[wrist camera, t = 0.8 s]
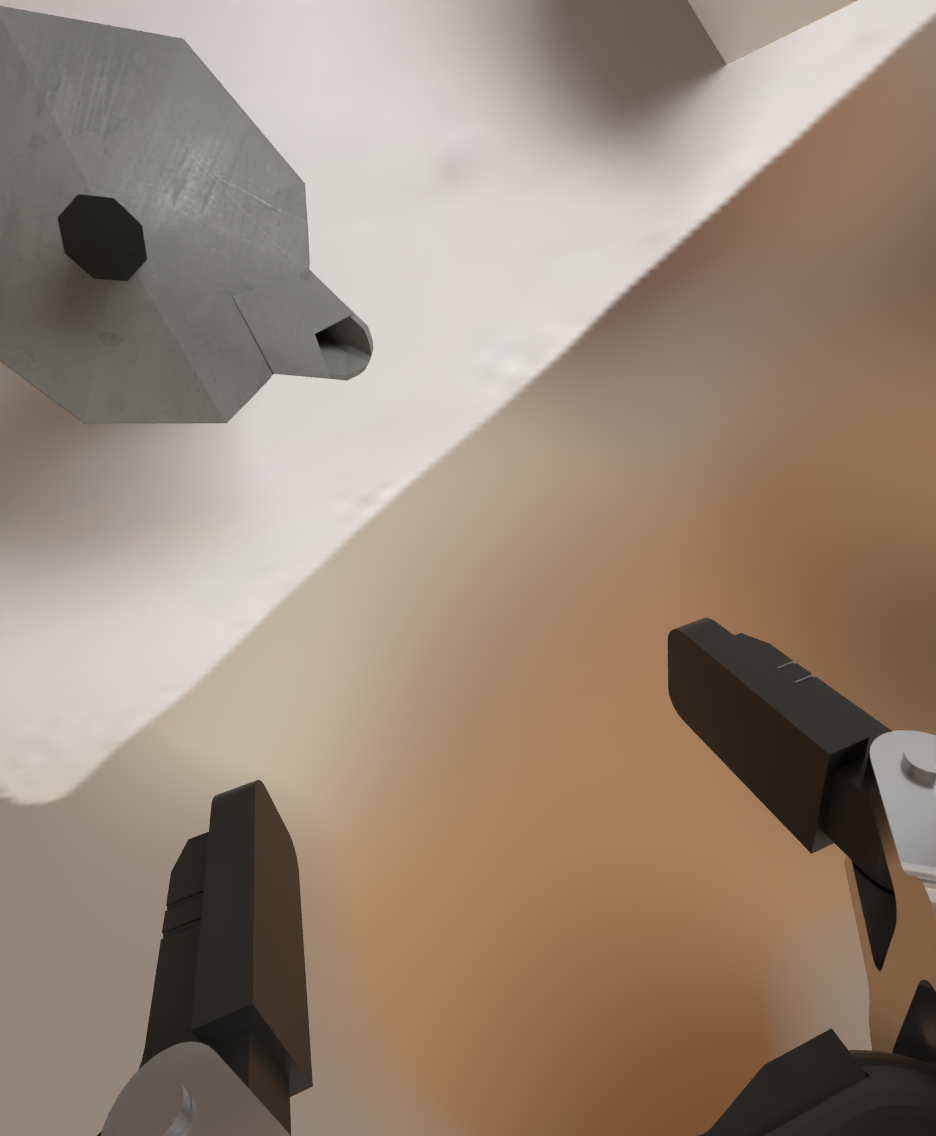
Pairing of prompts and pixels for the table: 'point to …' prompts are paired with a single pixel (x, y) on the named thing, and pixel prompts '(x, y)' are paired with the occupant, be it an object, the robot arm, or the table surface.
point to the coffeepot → (149, 233)
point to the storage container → (757, 21)
